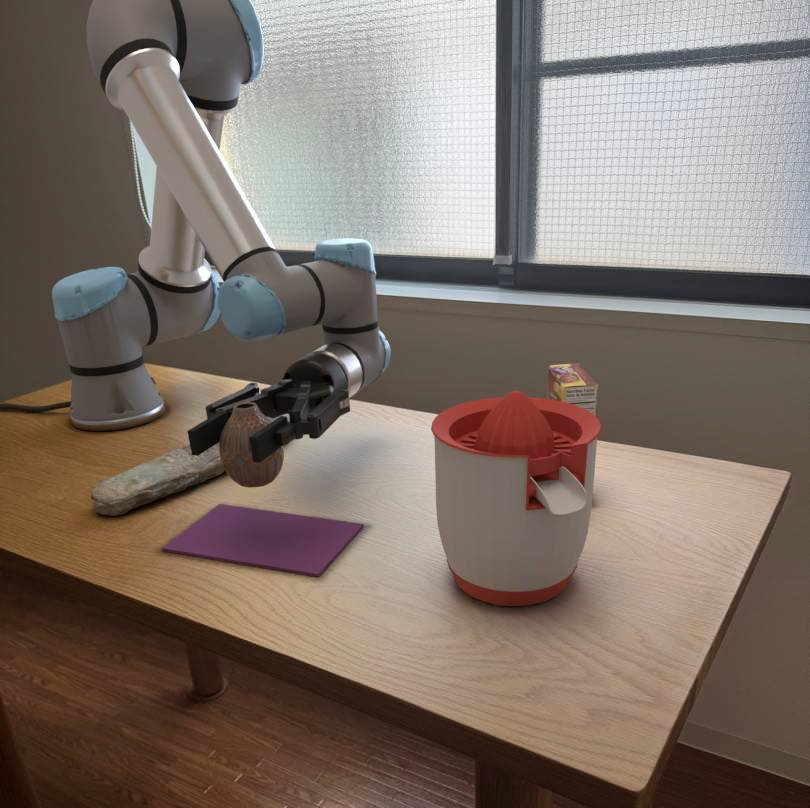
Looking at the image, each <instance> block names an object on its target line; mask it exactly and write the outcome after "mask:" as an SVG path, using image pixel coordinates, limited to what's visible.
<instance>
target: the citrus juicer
mask: <svg viewBox="0 0 810 808" xmlns="http://www.w3.org/2000/svg"><path fill="white" fill-rule="evenodd" d="M430 430H431V432H432V434H433V438H434V439H433V440H434V466H435V467H434V470H435V474H434V475H435V509H436V510H435V511H436V518H437V519H436V520H437V529H438V533H439V536H440V543H441V545H442V549H443V551H444V554H445V557H446V563H447V566H448V569H449V570H450V573H451V575H452V577H453V579H454V580H455V582H456V584H457V585H458V587H459V588H460V589H461V590H462V591H463V592H464V593H465V594H467V595H469V596H471V597H472V598H474V599H476V600H480V601H482V602H485V603H489V604H492V605H494V606H498V607H499V606H506V607H507V606H509V607H512V606H513V607H514V606H515V607H517V606H518V607H520V606H529V605H535V604H540V603H543V602H546V601H548V600H551V599H553V598H555V597H556V596H558V595H559V594H560V593H562V592H563V591H564V590H565V589H566V587H567V585H568V584H569V582H570V580H571V579H572V577H573V575H574V573H575V571H576V569H577V567H578V563H579V560H580V557H581V556H582V553H583V551H584V547H585V544H586V540H587V537H588V532H589V527H590V521H591V515H592V514H591V513H592V506H593V496H594V495H593V494H594V481H595V470H596V458H597V444H598V437H599V436H600V434H601V432H602V425H601V422H600V419H599V418H597V415H596V416H595V415H594V414H592V413H591V412H589V411H587V410H585V409H583V408H581V407H578V406H576V405H573V404H569V403H565V402H562V401H556V400H551V399H548V398H544V397H543V398H542V397H532V396H526V395H525V394H524V393H522V392H521V390H520V391H519V390H512V391H510V392H509V393H508V394H507V395H506V396H499V397H488V398H482V399H475V400H470V401H467V402H463V403H459V404H456V405H454V406H451V407H448V408H447V409H445V410H443V411H441V412H440V413H439V414H437V415H436V416H435V417H434V419H433V420H432V423H431V427H430Z"/></svg>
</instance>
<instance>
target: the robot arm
mask: <svg viewBox="0 0 810 808" xmlns="http://www.w3.org/2000/svg"><path fill="white" fill-rule="evenodd" d="M264 43H265V42H264V34H263V30H262V26H261V22H260V20H259V18H258V13H257V10H256V9H255V6H254V4H253V3H252V1H251V0H92V2H91V5H90V7H89V11H88V16H87V22H86V46H87V51H88V57H89V61H90V64H91V67H92V71H93V73H94V75H95V77H96V80H97V82H98V84H99V85H100V88H101V89H102V91H103V93H104V95H105V96H106V98H107V100H108V101H109V103H110V104H111V105H112V106H113V107H114V108H115V109H117V110H119V111H122V112H125V114H126V116H127V117H128V119H129V121H130V123H131V124H132V126H133V128H134V129H135V132H136V133H137V135H138V136H139V138H140V140H141V141H142V143H143V145H144V147H145V149H146V150H147V152H148V154H149V155H150V158H151V159H152V161H153V162H154V164H155V166H156V168H155V181H154V192H153V204H152V214H151V215H152V216H151V225H150V238H149V245H148V246H145V247H144V248H143V249H142V250H141V251H140V253H139V254H138V262H137V271H136V272H131V273H127V272H126V271H125V269H124V268H122V267H119V266H104V267H99V268H95V269H94V268H92V269H87V270H82V271H80V272H76V273H73V274H71V275H69V276H66V277H64V278H61V279H60V280H58V281H57V282H56V283H55V284H54V285H53V287H52V290H51V297H52V303H53V309H54V312H53V313H54V317H55V319H56V321H57V325H58V328H59V332H60V336H61V340H62V344H63V348H64V351H65V354H66V359H67V362H68V365H69V370H70V375H71V387H70V400H69V401H64V402H57V403H52V404H47V405H38V406H37V405H27V404H19V403H4V402H2V403H1V402H0V410H15V411H20V412H22V411H23V412H30V413H45V412H51V411H55V410H61V409H68V408H69V417H70V421H71V424H72V426H73V427H75V428H77V429H80V430H84V431H92V432H106V431H118V430H123V429H129V428H134V427H139V426H141V425H145V424H147V423H150V422H152V421H154V420H156V419H158V418H159V417H161V416H162V415H163V414H164V413H165V411H166V406H165V402H164V399H163V396H162V395H161V393H160V392H159V391H158V390H157V388H156V385H157V383H156V381H155V379H154V378H153V377H152V376H151V375H150V374H149V372H148V369H147V367H146V365H145V360H144V356H143V355H144V354H143V350H142V348H143V347H147V346H152V345H155V344H161V343H166V342H169V341H173V340H178V339H182V338H189V337H190V338H191V337H193V336H196V335H198V334H200V333H202V332H206V331H208V330H209V329H211V328H212V327H213V326H214V325H215V323H217V321H218V319H219V316H220V314H221V317H220V319H221V322H222V323H223V325H224V327H225V328H226V330H227V331H228V332H229V333H230V334H231V336H233V338H236V339H237V340H240V341H242V342H255V341H262V340H268V339H275V338H278V337H280V336H281V335H285V334H288V333H290V332H295V331H298V330H301V329H306V328H310V327H315V326H318V325H321V326H322V332H323V342H324V345H322V346H320V347H318V348H317V349H315V350H313V351H311V352H310V353H308V354H307V355H305V356H303V357H301V358H300V359H298V360H296V361H294V362H293V363H291V364H290V365H289V366H288V367H287V369H286V371H285V373H284V375H283V377H282V379H281V380H279V381H278V382H277V383H273V384H271V385H270V386H268V387H264V388H260V386H259V385H258V382H250V383H247V385H245V386H244V388H242V389H240V390H237V391H235V392H233V393H231V394H229V395H227V396H225V397H222V398H220V399H218V400H216V401H214V402H212V403H210V404H207V405H206V406H205V407H204V408H205V413H206V418H207V419H205V420H203V421H201V422H200V423H198V424H196V425H195V426H193V427H192V428H190V429H188V430H187V431H186V432H187V437H188V443H190V447H191V453H192V455H196V456H198V455H200V454H201V453H203V452H205V451H206V450H208V449H209V448H211V447H212V446H214V445H215V444H217V443H219V442H220V436H221V433H222V430H223V428H224V427H225V425H226V423H227V421H228V420H229V418H230V417H231V414H232V411H233V408H234V406H235V405H236V404H238V403H242V402H253V403H255V404H256V405H257V406H258V408H259V410H260V411H261V412H262V413H263V414H264V415H265V416H266V417H269V418H276V417H279V416H280V417H279V418H277V419H276V420H274V421H273V422H271V423H270V424H268V425H267V426H265V427H264V428H262V429H261V430H259V431H258V432H256V433H255V434H253V435H252V436H250V444H251V451H252V457H253V462H258V463H260V462H261V461H263V460H264V459H265V458H267V457H268V456H269V455H271V454H272V453H273V452H275V451H276V450H277V449H279V448H280V447H282V446H283V447H284V446H287V445H288V444H290V443H291V442H293V441H294V440H300V439H302V438H303V437H304V436H307V435H308V438H309V439H311V440H316V439H319V438H320V437H322V436H323V435H324V433H325V432H326V431H328V429H329V428H331V427H332V425H334V423H335V422H336V421H337V420H338V419H339V418H340V417H342V416H344V415H345V414H348V413H350V412H351V402H350V398H352V397H353V396H354V395H356V394H357V393H359V392H360V391H362V390H364V389H365V388H366V387H368V386H369V385H371V384H372V383H374V382H376V381H377V380H378V379H379V378H380V377H381V375H382V374H383V373H384V372H385V371H386V370H387V368H388V366H389V364H390V362H391V358H392V357H391V355H392V351H391V345H390V342H389V341H388V339H387V337H386V335H385V334H384V333H383V332H382V331H381V330H380V325H379V321H378V303H377V302H378V301H377V285H376V284H377V281H376V280H377V279H376V276H377V271H376V263H375V257H374V252H373V251H374V250H373V246H372V245H371V243H370V242H369V241H368V240H367V239H363V238H355V237H354V238H353V237H352V238H351V237H349V238H348V237H347V238H346V237H345V238H344V237H343V238H332V239H326V240H322V241H319V242H318V243H317V244H316V245H315V248H314V261H311V262H305V263H300V264H294V265H289V266H287V265H286V263H285V262H284V260H283V258H282V257H281V255H280V254H279V252H278V251H277V249H276V248H275V246H274V244H273V242H272V240H271V239H270V237H269V235H268V234H267V232H266V230H265V228H264V227H263V225H262V223H261V221H260V219H259V218H258V216H257V214H256V213H255V211H254V209H253V207H252V205H251V204H250V202H249V199H247V197H246V195H245V193H244V191H243V190H242V188H241V186H240V185H239V183H238V181H237V180H236V178H235V176H234V174H233V173H232V171H231V169H230V168H229V166H228V164H227V162H226V160H225V159H224V157H223V155H222V153H221V152H220V150H221V144H222V137H223V129H224V122H225V116H226V115H228V114H230V113H231V112H233V111H234V110H236V109H237V107H238V104H239V97H240V91H241V85H248V84H250V83H252V82H253V81H254V80H255V79H256V78H258V77H259V76H260V75H259V74H260V73H261V70H262V68H263V63H264V56H265V44H264ZM205 253H206V254H207V256H208V258H209V259H210V260H211V262H212V264H213V266H214V267H215V269H216V271H217V273H218V274H219V276H220V278H221V279H222V282H223V283H221V285H220V282H219V281H218V278H217V276H216V274H215V273H214V271H213V270H212V268H211V264H210V263H209V261H207V259H206V258H205ZM284 414H289V418H290V421H289V422H288V420H287V417H286V416H281V415H284Z"/></svg>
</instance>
